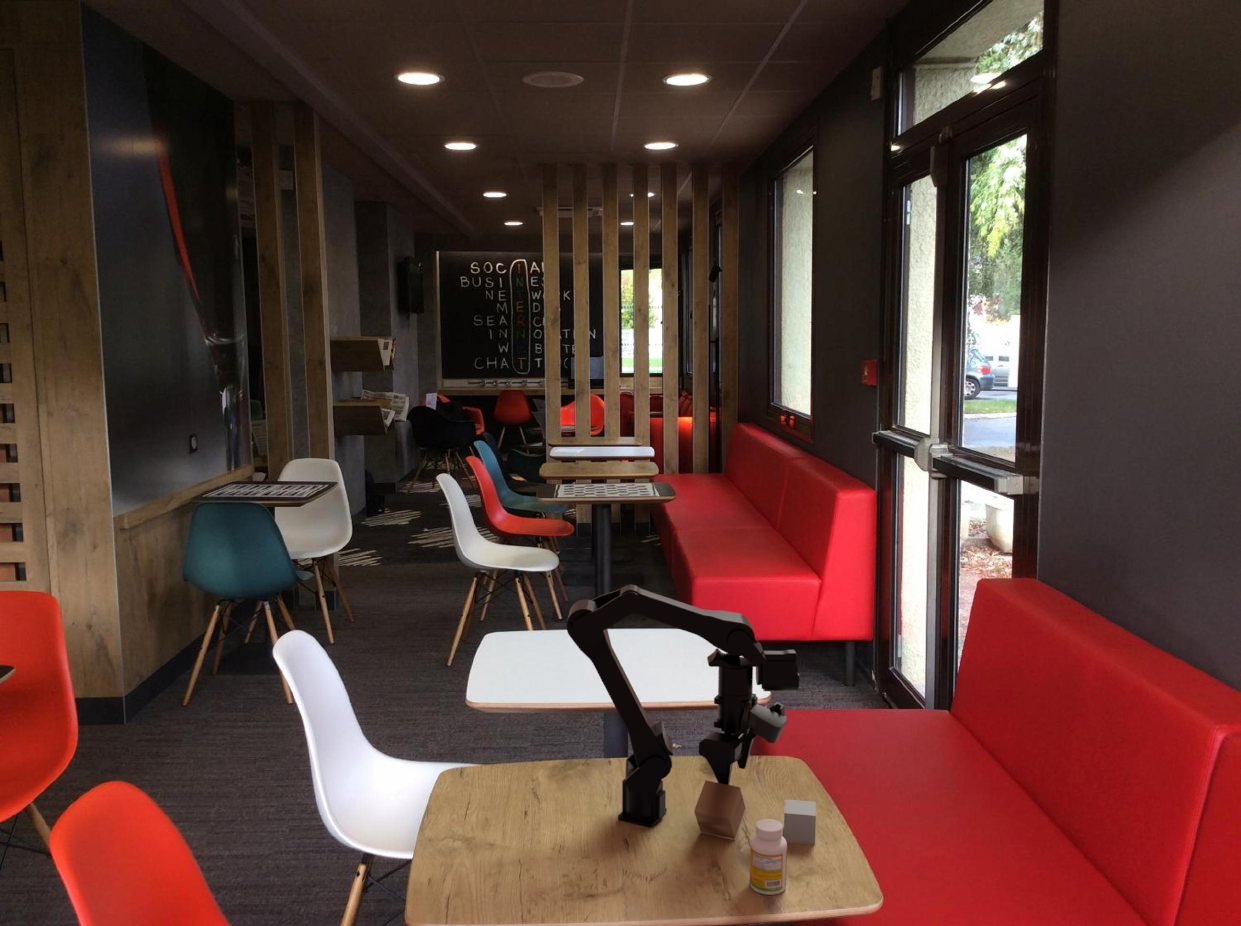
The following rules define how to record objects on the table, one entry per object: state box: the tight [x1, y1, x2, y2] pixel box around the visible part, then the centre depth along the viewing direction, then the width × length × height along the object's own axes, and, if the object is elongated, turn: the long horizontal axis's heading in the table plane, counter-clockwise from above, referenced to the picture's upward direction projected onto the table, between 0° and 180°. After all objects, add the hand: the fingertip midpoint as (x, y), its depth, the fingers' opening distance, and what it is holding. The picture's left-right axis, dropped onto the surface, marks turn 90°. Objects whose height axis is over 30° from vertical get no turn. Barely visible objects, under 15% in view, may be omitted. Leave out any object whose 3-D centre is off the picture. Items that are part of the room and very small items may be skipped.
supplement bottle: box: [749, 818, 788, 896], centre depth 155 cm, size 5×5×10 cm
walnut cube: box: [693, 780, 746, 841], centre depth 171 cm, size 6×6×6 cm
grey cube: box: [783, 799, 817, 846], centre depth 170 cm, size 5×5×5 cm
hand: (733, 778), depth 176 cm, fingers open, 9 cm apart
